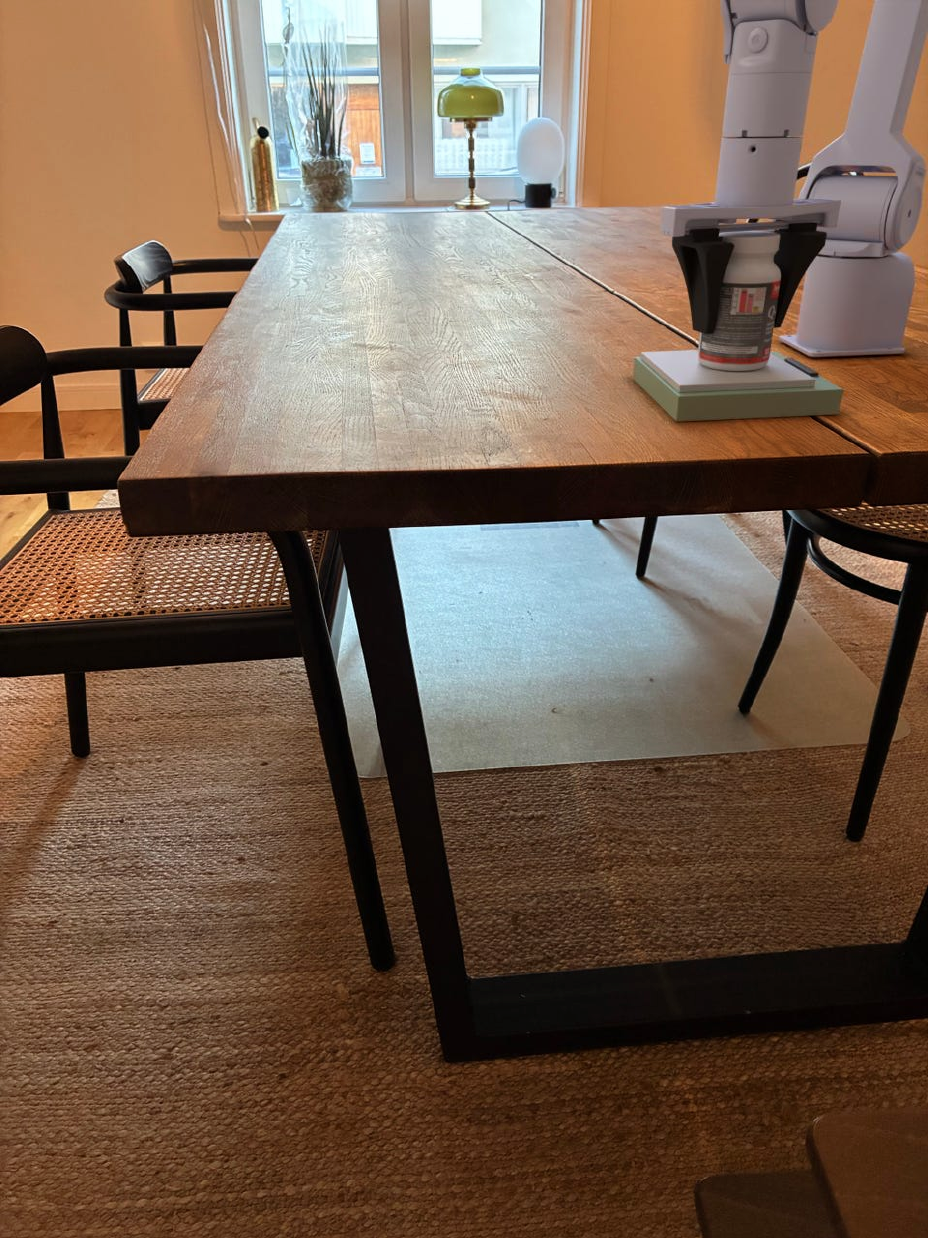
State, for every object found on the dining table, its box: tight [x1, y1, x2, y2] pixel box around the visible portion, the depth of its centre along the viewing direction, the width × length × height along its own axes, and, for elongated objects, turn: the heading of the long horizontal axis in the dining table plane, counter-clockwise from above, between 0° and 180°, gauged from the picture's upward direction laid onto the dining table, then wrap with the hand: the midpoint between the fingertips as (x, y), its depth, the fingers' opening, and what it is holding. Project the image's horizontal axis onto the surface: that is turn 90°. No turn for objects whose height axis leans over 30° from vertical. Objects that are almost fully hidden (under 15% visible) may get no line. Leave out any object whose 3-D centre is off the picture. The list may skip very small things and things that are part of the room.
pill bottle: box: [697, 230, 781, 371], centre depth 71 cm, size 6×6×10 cm
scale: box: [632, 349, 844, 423], centre depth 74 cm, size 13×13×3 cm
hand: (737, 328), depth 72 cm, fingers closed on pill bottle, 6 cm apart
